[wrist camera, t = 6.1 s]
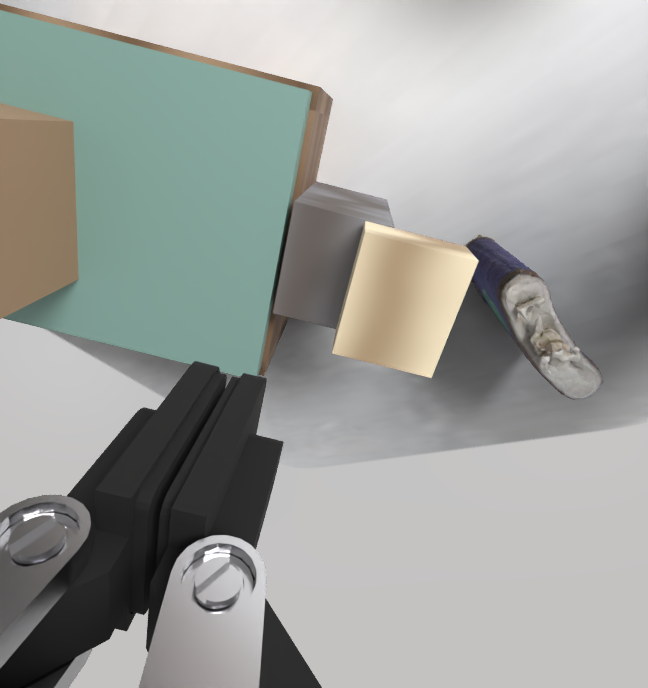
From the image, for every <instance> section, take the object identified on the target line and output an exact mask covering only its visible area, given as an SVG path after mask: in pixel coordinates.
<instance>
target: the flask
mask: <svg viewBox="0 0 648 688" xmlns="http://www.w3.org/2000/svg"><path fill="white" fill-rule="evenodd" d="M466 247H467V248H468V249H469V250H470V252H471V253H472V254H473V255H474V256H475V257H476V258H477V260H478V261H479V262H478V264H477V267H476V269H475V272H474V274H473V276H472V282H473V283H474V284H475V287H476V289H477V291H478V293H480V294H481V296H482V298H483V300H484V301H485V302H486V303H487V304H488V305H489V306H490V307H491V309H492V310H493V312H494V313H495V314H496V316H497V318H498V319H499V320H500V321H501V323H502V324H503V325H504V327H505V328H506V330H507V331H508V332H509V333H510V335H511V336H512V337H513V339H514V340H515V341H516V343H517V345H518V346H519V347H520V349H521V350H522V352H523V353H524V355H525V356H526V358H527V359H528V360H529V361H530V362H531V364H532V365H533V366H534V367H535V368H536V369H537V371H538V372H539V373H540V374H541V375H542V376H543V377H544V378H545V379H546V380H547V381H548V382H549V383H550V384H551V385H552V386H553V387H554V388H555V389H557V390H558V391H559V392H560V393H561V394H563V395H565V396H567V397H568V398H570V399H581V398H585V397H589V396H591V395H592V394H594V392H595V391H597V390H598V388H599V386H600V385H601V384H602V382H603V381H602V376H601V373H600V372H599V369H598V368H597V366H596V364H595V363H594V362H593V361H592V360H590V359H589V358H588V357H587V356H586V355H584V354H583V353H582V352H581V351H580V349H579V348H578V347H577V346H576V345H575V342H574V341H572V339H571V338H570V336H569V334H568V333H567V331H566V330H565V328H564V327H563V325H562V323H561V322H560V320H559V318H558V316H557V314H556V312H555V309H554V307H553V304H552V301H551V297H550V292H549V290H548V288H547V286H546V284H545V282H544V280H543V279H542V278H540V277H539V276H538V275H537V273H535V272H534V271H532V270H531V269H530V268H529V267H526V266H525V265H524V264H523V263H522V262H520V261H519V260H517V258H515V257H514V256H512V255H511V254H510V253H509V252H508V251H506V250H504V249H503V248H502V247H500V246H499V245H498V244H497V243H496V242H495V240H493V239H491V238H488V237H482V236H481V235H479V236H478V238H476V239H474V240H472V241H470V242H469V243H468V244H467V246H466Z"/></svg>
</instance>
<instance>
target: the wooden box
mask: <svg viewBox="0 0 648 688" xmlns="http://www.w3.org/2000/svg"><path fill="white" fill-rule="evenodd" d="M0 10H2V11H6V12H10V13H14V14H17V15H21V16H25V17H29V18H33V19H37V20H40V21H44V22H48V23H52V24H56V25H60V26H64V27H67V28H71V29H75V30H79V31H83V32H87V33H90V34H94V35H98V36H102V37H106V38H110V39H113V40H117V41H121V42H125V43H129V44H133V45H136V46H140V47H144V48H148V49H152V50H156V51H160V52H163V53H167V54H171V55H175V56H179V57H183V58H186V59H190V60H194V61H198V62H202V63H206V64H209V65H213V66H217V67H221V68H225V69H229V70H232V71H236V72H240V73H244V74H248V75H252V76H256V77H259V78H263V79H267V80H271V81H275V82H279V83H282V84H286V85H290V86H294V87H298V88H302V89H305V90H309V91H311V92H312V97H311V103H310V108H309V113H308V119H307V124H306V129H305V135H304V140H303V145H302V150H301V156H300V161H299V166H298V172H297V177H296V182H295V188H294V193H293V198H292V204H291V209H290V214H289V220H288V225H287V230H286V236H285V241H284V246H283V251H282V257H281V262H280V267H279V273H278V278H277V283H276V289H275V294H274V299H273V305H272V310H271V315H270V321H269V326H268V331H267V336H266V342H265V347H264V352H263V358H262V363H261V368H260V372H259V375H263V376H264V374H265V372H266V370H267V367H268V365H269V363H270V360H271V358H272V356H273V353H274V351H275V349H276V346H277V344H278V342H279V339H280V337H281V335H282V332H283V330H284V328H285V325H286V321H287V317H290V318H294V319H298V320H302V321H306V322H310V323H314V324H318V325H322V326H326V327H330V328H334V329H336V328H337V324H338V321H339V317H340V313H341V310H342V306H343V302H344V298H345V295H346V291H347V287H348V284H349V280H350V276H351V272H352V269H353V265H354V261H355V258H356V254H357V250H358V246H359V243H360V239H361V235H362V232H363V228H364V224H365V221H368V222H372V223H376V224H380V225H383V226H387V227H391V228H394V224H393V220H392V217H391V213H390V210H389V206H388V202H387V200H386V199H382V198H378V197H374V196H370V195H366V194H362V193H358V192H354V191H350V190H347V189H343V188H339V187H335V186H331V185H327V184H323V183H319V182H316V177H317V172H318V168H319V163H320V158H321V153H322V148H323V144H324V139H325V134H326V129H327V124H328V120H329V115H330V110H331V105H332V100H333V99H332V98H331V97H330V96H329V95H328V94H327V93H326V92H325V91H324V90H323V89H322V88H321V87H318V86H314V85H310V84H306V83H303V82H299V81H295V80H291V79H287V78H283V77H280V76H276V75H272V74H268V73H264V72H260V71H257V70H253V69H249V68H245V67H241V66H237V65H234V64H230V63H226V62H222V61H218V60H214V59H211V58H207V57H203V56H199V55H195V54H191V53H187V52H184V51H180V50H176V49H172V48H168V47H164V46H161V45H157V44H153V43H149V42H145V41H141V40H138V39H134V38H130V37H126V36H122V35H118V34H115V33H111V32H107V31H103V30H99V29H95V28H92V27H88V26H84V25H80V24H76V23H72V22H69V21H65V20H61V19H57V18H53V17H49V16H46V15H42V14H38V13H34V12H30V11H26V10H23V9H19V8H15V7H11V6H7V5H3V4H0Z"/></svg>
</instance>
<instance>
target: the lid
mask: <svg viewBox="0 0 648 688" xmlns="http://www.w3.org/2000/svg"><path fill="white" fill-rule="evenodd" d="M311 97H312V92H311V91H309V90H305V89H302V88H298V87H294V86H290V85H286V84H282V83H279V82H275V81H271V80H267V79H263V78H259V77H256V76H252V75H248V74H244V73H240V72H236V71H232V70H229V69H225V68H221V67H217V66H213V65H209V64H206V63H202V62H198V61H194V60H190V59H186V58H183V57H179V56H175V55H171V54H167V53H163V52H160V51H156V50H152V49H148V48H144V47H140V46H136V45H133V44H129V43H125V42H121V41H117V40H113V39H110V38H106V37H102V36H98V35H94V34H90V33H87V32H83V31H79V30H75V29H71V28H67V27H64V26H60V25H56V24H52V23H48V22H44V21H40V20H37V19H33V18H29V17H25V16H21V15H17V14H14V13H10V12H6V11H2V10H0V319H1V318H5V319H8V320H12V321H16V322H21V323H25V324H29V325H33V326H37V327H41V328H45V329H49V330H53V331H57V332H61V333H65V334H69V335H73V336H77V337H81V338H85V339H89V340H93V341H98V342H102V343H106V344H110V345H114V346H118V347H122V348H126V349H130V350H134V351H138V352H142V353H146V354H150V355H154V356H158V357H162V358H166V359H171V360H175V361H179V362H183V363H187V364H191V365H192V363H193V362H194V361H198V362H202V363H206V364H210V365H214V366H218V367H219V369H220V372H223V373H227V374H231V375H235V376H240V377H241V376H242V374H243V373H246V374H250V375H254V376H258V374H259V372H260V368H261V363H262V358H263V352H264V347H265V342H266V336H267V331H268V326H269V321H270V315H271V310H272V305H273V299H274V294H275V289H276V283H277V278H278V273H279V267H280V262H281V257H282V251H283V246H284V241H285V236H286V230H287V225H288V220H289V214H290V209H291V204H292V198H293V193H294V188H295V182H296V177H297V172H298V166H299V161H300V156H301V150H302V145H303V140H304V135H305V129H306V124H307V119H308V113H309V108H310V103H311Z"/></svg>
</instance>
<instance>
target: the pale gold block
mask: <svg viewBox="0 0 648 688" xmlns="http://www.w3.org/2000/svg"><path fill="white" fill-rule="evenodd" d="M478 262H479V261H478V260H477V258H476V257H475V256H474V255H473V254H472V253H471V252H470V250H469V249H468V248H467V247H466V246H462V245H458V244H454V243H450V242H446V241H442V240H438V239H434V238H431V237H427V236H423V235H419V234H415V233H411V232H407V231H403V230H399V229H395V228H391V227H387V226H383V225H380V224H376V223H372V222H368V221H365V224H364V228H363V232H362V235H361V239H360V243H359V246H358V250H357V254H356V258H355V261H354V265H353V269H352V272H351V276H350V280H349V284H348V287H347V291H346V295H345V298H344V302H343V306H342V310H341V313H340V317H339V321H338V324H337V328H336V332H335V338H334V345H333V351H332V353H333V354H337V355H341V356H345V357H349V358H353V359H357V360H361V361H365V362H369V363H373V364H377V365H381V366H385V367H389V368H393V369H397V370H401V371H405V372H409V373H413V374H417V375H421V376H425V377H429V378H432V375H433V373H434V370H435V368H436V365H437V363H438V360H439V358H440V355H441V353H442V351H443V348H444V346H445V343H446V341H447V338H448V336H449V333H450V331H451V328H452V326H453V323H454V321H455V318H456V316H457V313H458V311H459V309H460V306H461V304H462V301H463V299H464V296H465V294H466V291H467V289H468V286H469V284H470V281H471V279H472V276H473V274H474V272H475V269H476V267H477V264H478Z"/></svg>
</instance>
